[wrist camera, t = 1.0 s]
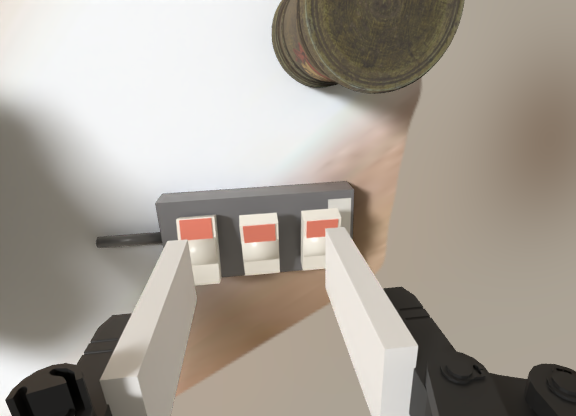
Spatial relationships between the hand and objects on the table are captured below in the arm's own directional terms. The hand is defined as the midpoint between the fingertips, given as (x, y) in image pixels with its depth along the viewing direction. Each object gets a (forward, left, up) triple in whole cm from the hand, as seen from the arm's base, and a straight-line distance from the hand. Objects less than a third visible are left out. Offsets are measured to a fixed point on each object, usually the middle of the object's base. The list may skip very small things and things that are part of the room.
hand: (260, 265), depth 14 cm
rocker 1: (-6, -9, -21) cm, 24 cm away
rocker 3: (+6, -9, -21) cm, 24 cm away
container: (+7, +10, -25) cm, 28 cm away
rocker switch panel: (-3, -9, -25) cm, 27 cm away
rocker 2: (0, -9, -21) cm, 23 cm away
